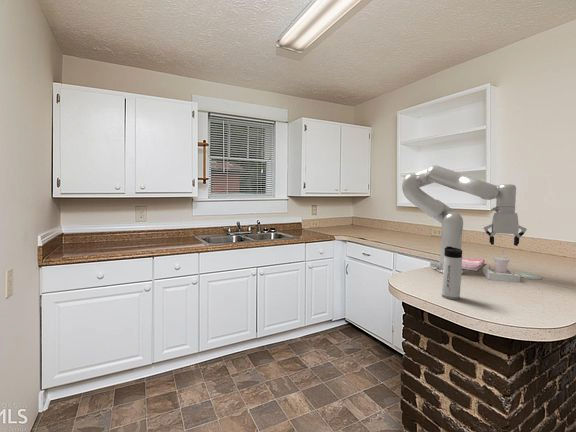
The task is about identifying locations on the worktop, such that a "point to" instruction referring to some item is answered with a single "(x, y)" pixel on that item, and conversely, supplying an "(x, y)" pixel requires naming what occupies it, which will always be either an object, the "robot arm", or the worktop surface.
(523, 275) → the coaster
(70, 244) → the worktop surface
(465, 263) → the dish towel
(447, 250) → the travel mug
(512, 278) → the socket block
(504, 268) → the smoothie
